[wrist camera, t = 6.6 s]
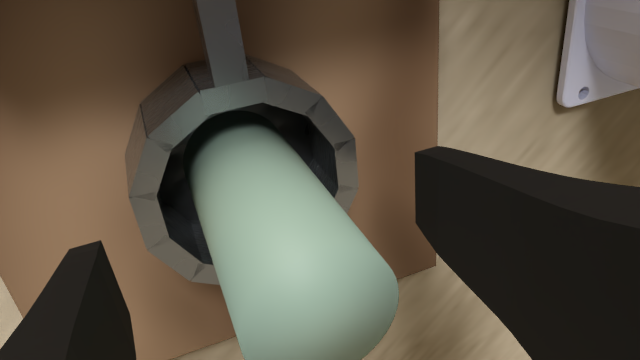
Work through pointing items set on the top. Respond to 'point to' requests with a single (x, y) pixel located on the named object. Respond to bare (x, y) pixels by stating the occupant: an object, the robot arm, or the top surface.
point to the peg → (284, 247)
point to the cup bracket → (180, 123)
